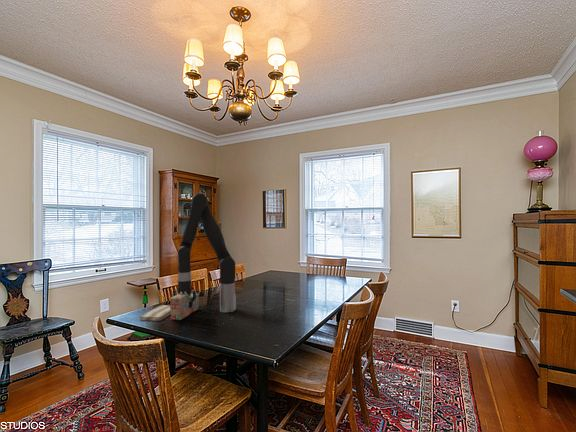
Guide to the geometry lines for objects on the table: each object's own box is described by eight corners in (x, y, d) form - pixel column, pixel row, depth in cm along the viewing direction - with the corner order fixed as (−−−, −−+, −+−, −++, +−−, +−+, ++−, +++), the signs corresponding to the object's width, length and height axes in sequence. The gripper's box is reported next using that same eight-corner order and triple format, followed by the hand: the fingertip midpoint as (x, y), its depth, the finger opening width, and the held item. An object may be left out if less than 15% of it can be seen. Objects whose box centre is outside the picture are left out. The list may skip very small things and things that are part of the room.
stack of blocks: (190, 308, 188) (189, 288, 188) (199, 308, 187) (198, 288, 187) (170, 319, 167) (169, 297, 167) (180, 320, 166) (180, 298, 166)
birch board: (178, 308, 188) (178, 305, 188) (160, 320, 166) (160, 317, 166) (160, 308, 189) (160, 305, 189) (140, 320, 167) (140, 316, 167)
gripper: (198, 278, 179) (199, 306, 179) (176, 278, 181) (176, 305, 181) (193, 281, 172) (194, 309, 172) (169, 280, 173) (170, 309, 173)
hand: (184, 307), depth 176 cm, fingers closed on stack of blocks, 6 cm apart
